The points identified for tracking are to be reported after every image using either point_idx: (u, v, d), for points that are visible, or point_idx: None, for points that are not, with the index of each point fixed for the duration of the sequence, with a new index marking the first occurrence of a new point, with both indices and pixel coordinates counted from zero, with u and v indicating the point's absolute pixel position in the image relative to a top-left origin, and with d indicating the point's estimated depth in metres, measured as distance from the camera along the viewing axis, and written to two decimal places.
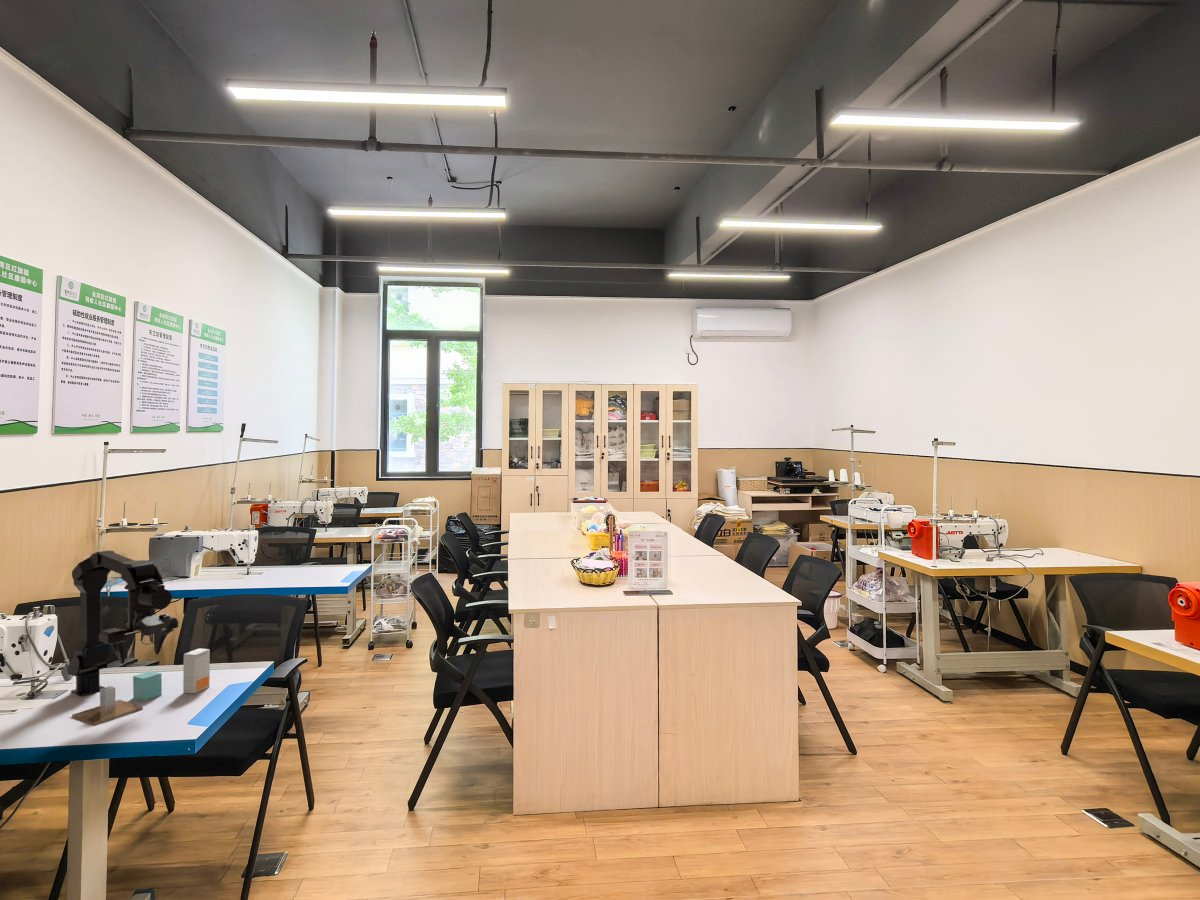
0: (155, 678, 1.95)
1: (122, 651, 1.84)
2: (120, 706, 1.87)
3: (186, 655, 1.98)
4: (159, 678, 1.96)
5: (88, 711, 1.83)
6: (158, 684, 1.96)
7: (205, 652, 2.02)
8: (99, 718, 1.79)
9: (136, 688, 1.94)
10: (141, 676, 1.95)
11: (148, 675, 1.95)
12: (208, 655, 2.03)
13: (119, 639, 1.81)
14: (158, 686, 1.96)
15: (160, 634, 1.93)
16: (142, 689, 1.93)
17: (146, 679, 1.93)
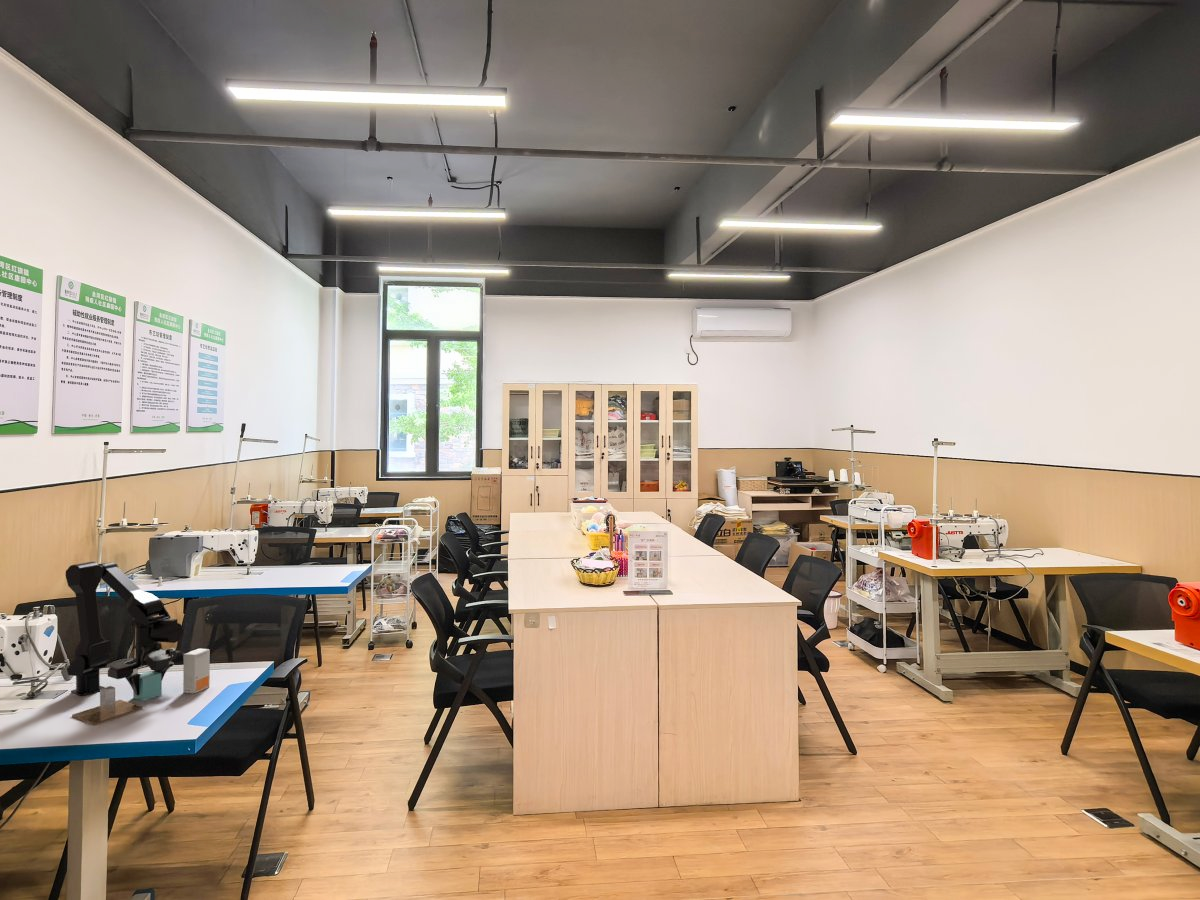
0: (155, 678, 1.95)
1: (137, 683, 1.92)
2: (120, 706, 1.87)
3: (186, 655, 1.98)
4: (159, 678, 1.96)
5: (88, 711, 1.83)
6: (158, 684, 1.96)
7: (205, 652, 2.02)
8: (99, 718, 1.79)
9: None
10: (141, 676, 1.95)
11: (148, 675, 1.95)
12: (208, 655, 2.03)
13: (128, 674, 1.88)
14: (158, 686, 1.96)
15: (160, 669, 1.98)
16: (142, 689, 1.93)
17: (146, 679, 1.93)
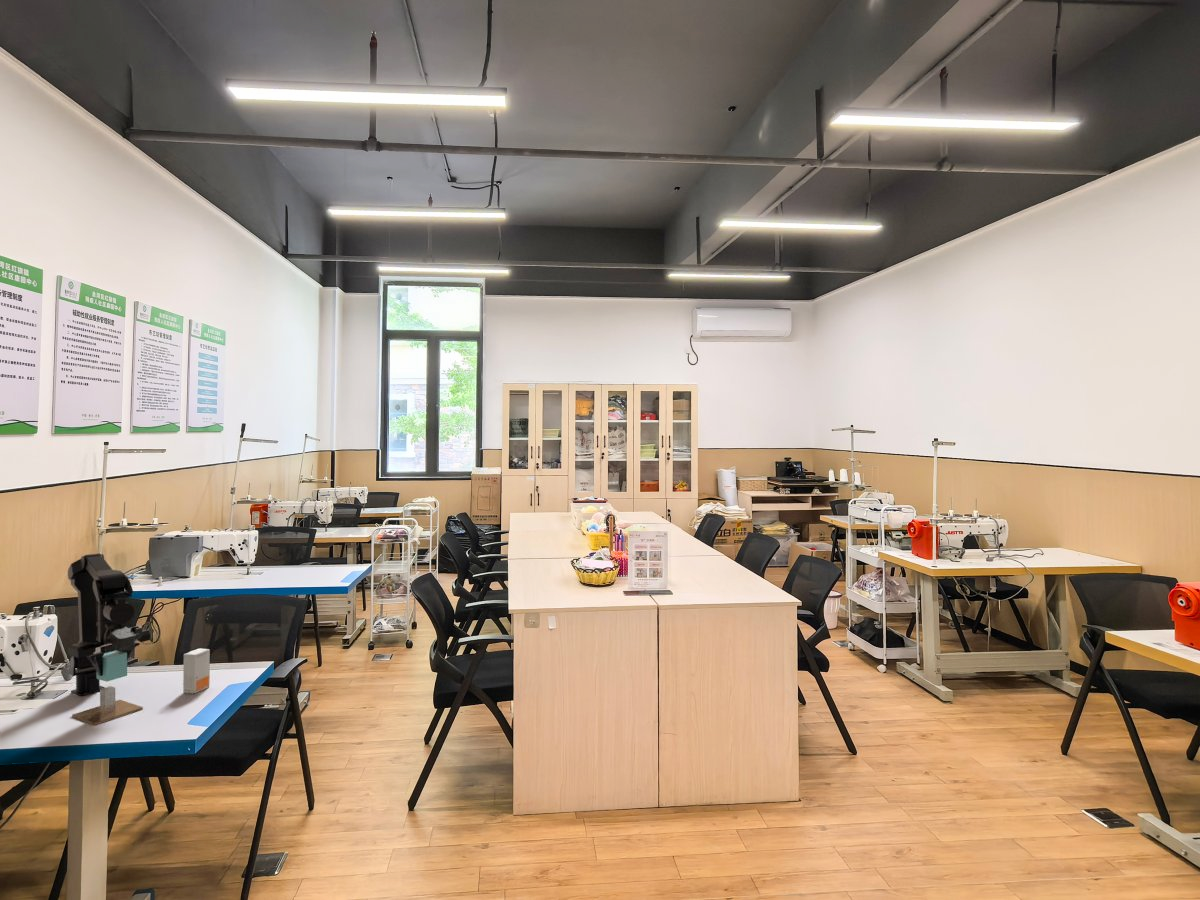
0: (120, 658, 1.84)
1: (100, 663, 1.81)
2: (120, 706, 1.87)
3: (186, 655, 1.98)
4: (124, 658, 1.85)
5: (88, 711, 1.83)
6: (123, 664, 1.85)
7: (205, 652, 2.02)
8: (99, 718, 1.79)
9: None
10: (105, 655, 1.83)
11: (112, 654, 1.84)
12: (208, 655, 2.03)
13: (89, 653, 1.77)
14: (123, 666, 1.85)
15: (125, 649, 1.87)
16: (105, 669, 1.81)
17: (110, 658, 1.82)
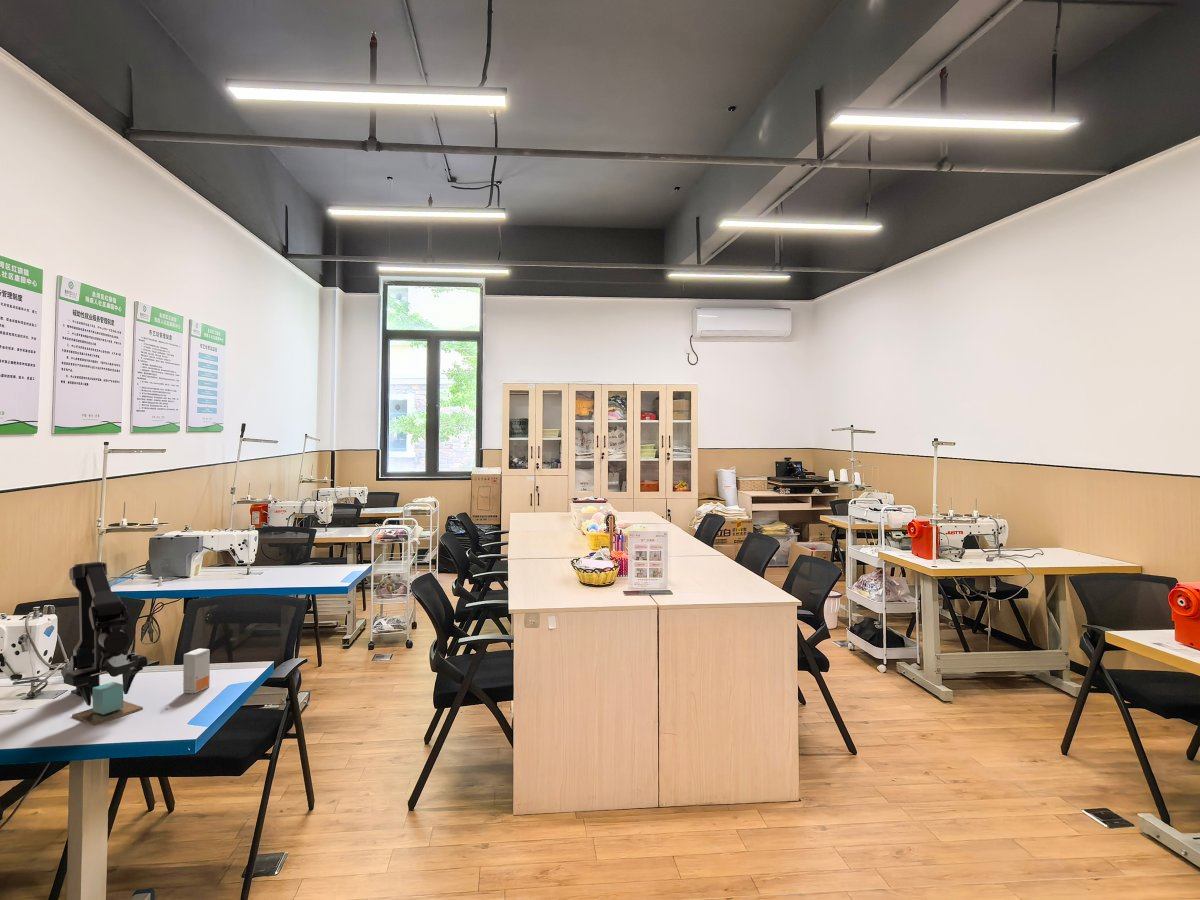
0: (116, 690, 1.83)
1: (88, 693, 1.79)
2: None
3: (186, 655, 1.98)
4: (121, 690, 1.84)
5: (88, 711, 1.83)
6: (120, 696, 1.84)
7: (205, 652, 2.02)
8: (99, 718, 1.79)
9: (96, 700, 1.82)
10: (101, 688, 1.82)
11: (109, 687, 1.83)
12: (208, 654, 2.03)
13: (85, 681, 1.76)
14: (120, 698, 1.84)
15: (129, 673, 1.88)
16: (101, 702, 1.81)
17: (106, 691, 1.81)
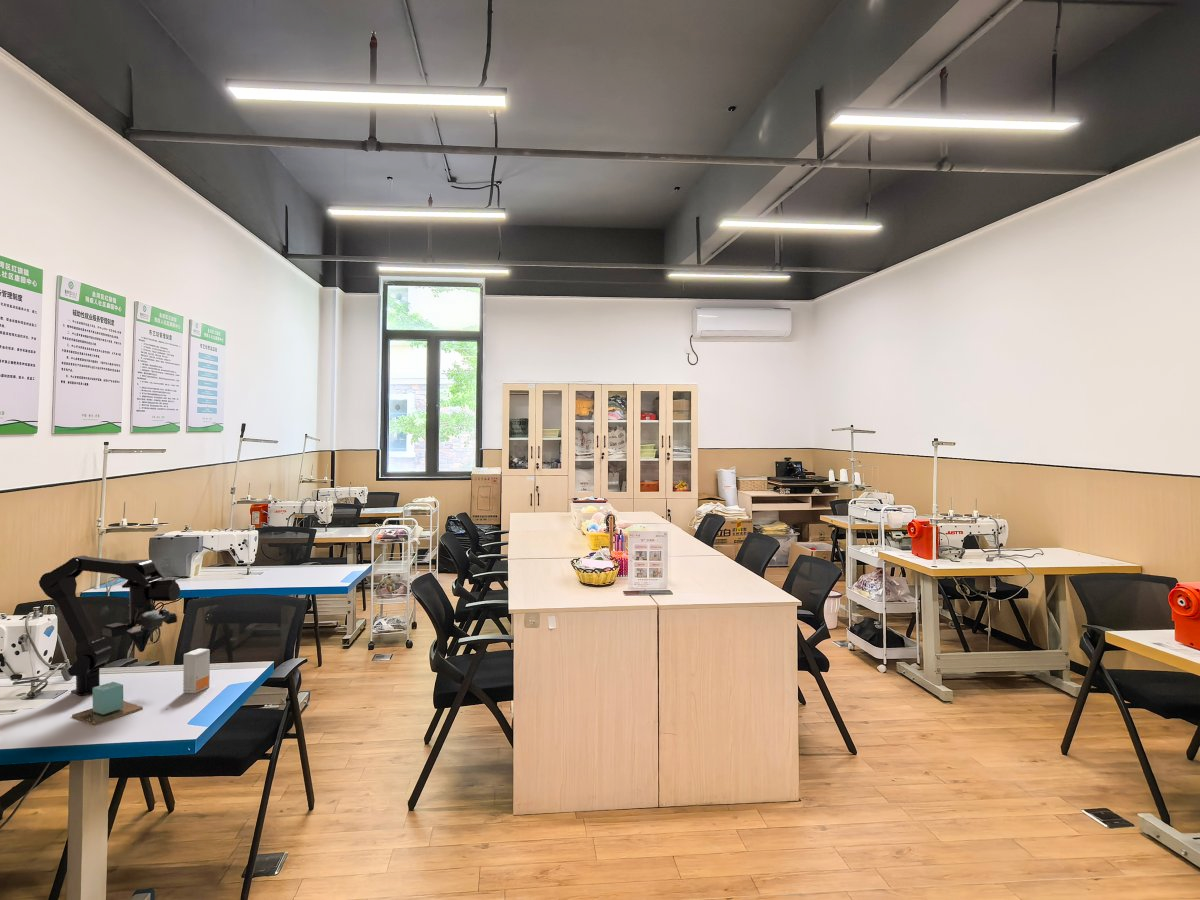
0: (116, 690, 1.83)
1: (140, 640, 2.00)
2: None
3: (186, 655, 1.98)
4: (121, 690, 1.84)
5: (88, 711, 1.83)
6: (120, 696, 1.84)
7: (205, 652, 2.02)
8: (99, 718, 1.79)
9: (96, 700, 1.82)
10: (101, 688, 1.82)
11: (109, 687, 1.83)
12: (208, 654, 2.03)
13: (122, 633, 1.93)
14: (120, 698, 1.84)
15: (145, 632, 2.01)
16: (101, 702, 1.81)
17: (106, 691, 1.81)
